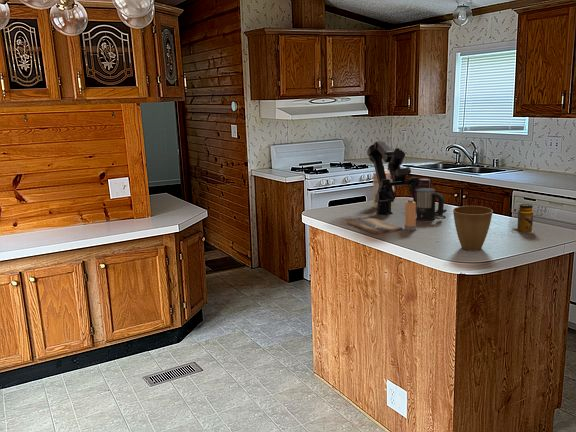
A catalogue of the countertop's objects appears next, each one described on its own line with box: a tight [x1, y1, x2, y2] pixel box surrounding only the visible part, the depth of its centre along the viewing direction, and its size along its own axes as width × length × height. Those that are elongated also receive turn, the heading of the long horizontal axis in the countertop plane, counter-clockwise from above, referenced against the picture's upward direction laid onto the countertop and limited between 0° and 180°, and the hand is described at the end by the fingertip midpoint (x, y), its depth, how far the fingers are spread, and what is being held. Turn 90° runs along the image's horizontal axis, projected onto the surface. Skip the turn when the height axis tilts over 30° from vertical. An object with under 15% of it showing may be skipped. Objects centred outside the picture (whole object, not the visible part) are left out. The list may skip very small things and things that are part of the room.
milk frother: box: [416, 187, 448, 221], centre depth 269 cm, size 14×16×15 cm
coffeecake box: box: [372, 169, 395, 209], centre depth 302 cm, size 15×7×20 cm, turn 147°
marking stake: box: [404, 198, 417, 232], centre depth 248 cm, size 4×4×14 cm
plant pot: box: [452, 205, 494, 251], centre depth 214 cm, size 15×15×16 cm
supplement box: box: [412, 178, 431, 209], centre depth 292 cm, size 9×5×16 cm, turn 65°
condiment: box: [511, 203, 534, 234], centre depth 237 cm, size 7×8×12 cm
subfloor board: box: [346, 217, 403, 235], centre depth 258 cm, size 15×25×1 cm, turn 24°
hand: (404, 198), depth 254 cm, fingers open, 9 cm apart
